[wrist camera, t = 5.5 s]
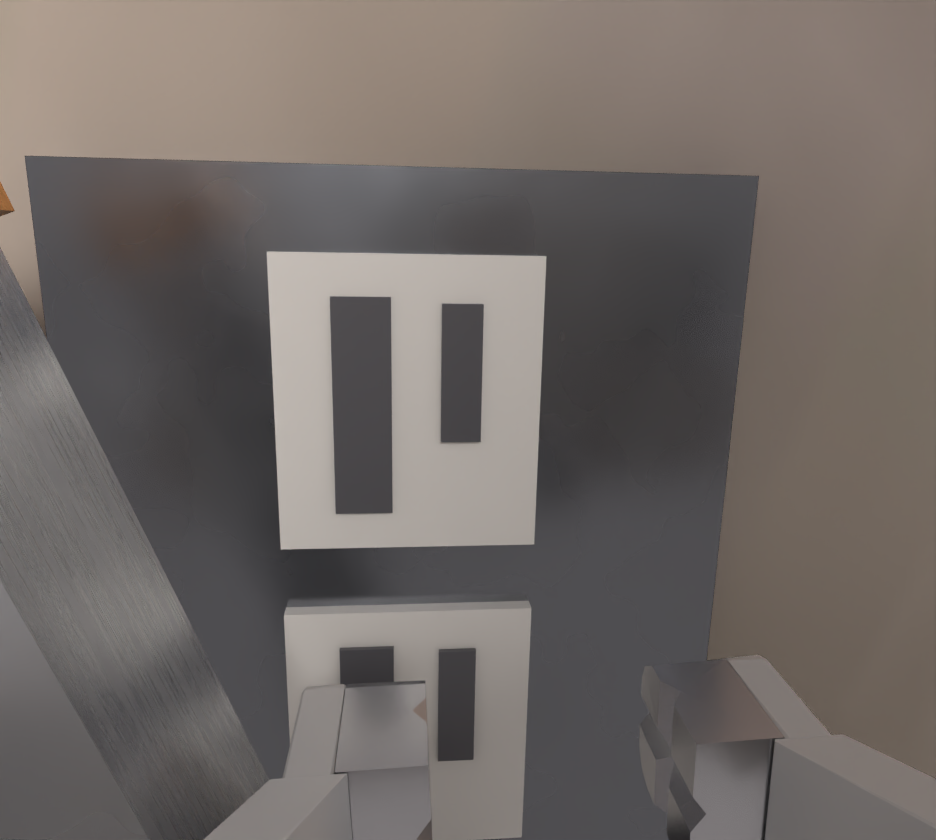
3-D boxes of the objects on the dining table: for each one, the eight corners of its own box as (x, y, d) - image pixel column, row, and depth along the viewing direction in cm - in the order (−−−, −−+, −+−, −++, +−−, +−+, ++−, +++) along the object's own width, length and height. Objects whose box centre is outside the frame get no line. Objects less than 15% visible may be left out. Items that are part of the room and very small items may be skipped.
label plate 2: (286, 607, 14) (282, 618, 13) (529, 601, 14) (532, 611, 14) (297, 838, 15) (293, 854, 14) (519, 825, 15) (522, 841, 15)
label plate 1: (269, 251, 12) (265, 252, 12) (543, 256, 12) (547, 256, 12) (283, 542, 13) (279, 552, 13) (531, 538, 14) (534, 546, 13)
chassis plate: (54, 162, 12) (24, 155, 11) (733, 180, 13) (759, 175, 12) (147, 990, 17) (131, 1036, 16) (655, 953, 18) (670, 994, 17)
